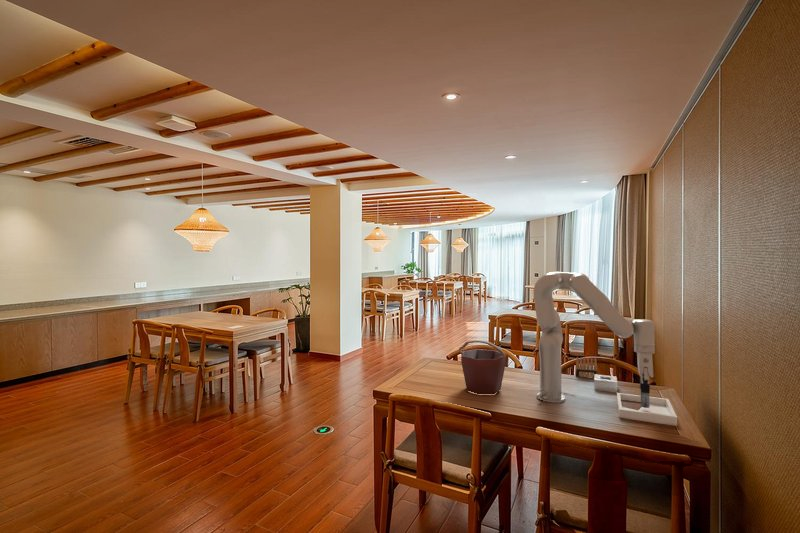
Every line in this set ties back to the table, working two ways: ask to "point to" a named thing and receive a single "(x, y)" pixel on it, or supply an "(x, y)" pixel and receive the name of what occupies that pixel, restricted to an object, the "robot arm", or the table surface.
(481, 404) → the table surface
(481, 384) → the bucket
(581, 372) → the ammunition clip
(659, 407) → the tray
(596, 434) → the table surface
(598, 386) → the block
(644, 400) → the pin
